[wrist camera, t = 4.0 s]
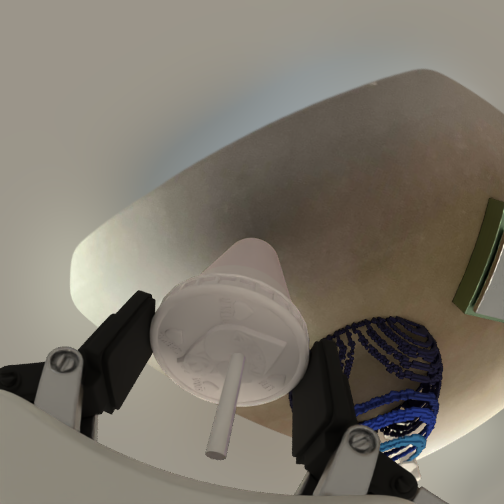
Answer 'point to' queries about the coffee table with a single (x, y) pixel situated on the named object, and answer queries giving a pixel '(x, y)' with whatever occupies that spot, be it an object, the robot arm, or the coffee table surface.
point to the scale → (481, 259)
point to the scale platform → (493, 288)
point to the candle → (415, 470)
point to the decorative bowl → (411, 406)
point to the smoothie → (232, 335)
